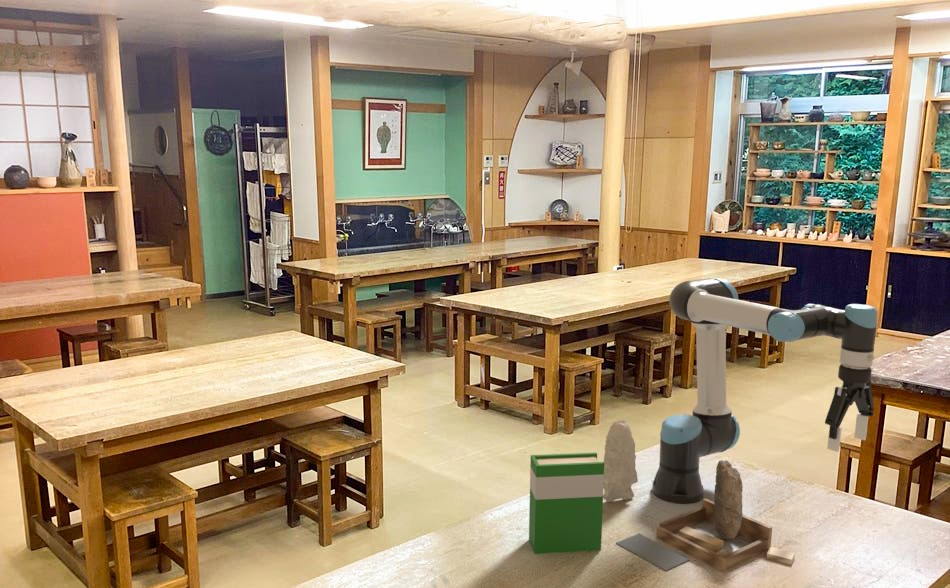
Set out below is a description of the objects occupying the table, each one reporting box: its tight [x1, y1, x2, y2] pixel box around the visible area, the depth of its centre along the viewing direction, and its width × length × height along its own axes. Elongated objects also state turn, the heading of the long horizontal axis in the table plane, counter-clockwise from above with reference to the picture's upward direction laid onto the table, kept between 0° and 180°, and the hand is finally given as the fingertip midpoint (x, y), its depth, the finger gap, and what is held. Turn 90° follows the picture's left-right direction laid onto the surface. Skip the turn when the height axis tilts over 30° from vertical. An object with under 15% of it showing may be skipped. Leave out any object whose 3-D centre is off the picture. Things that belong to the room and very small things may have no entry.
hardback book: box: [528, 452, 604, 555], centre depth 204 cm, size 18×7×24 cm, turn 97°
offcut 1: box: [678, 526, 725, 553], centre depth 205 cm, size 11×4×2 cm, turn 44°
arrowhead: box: [603, 419, 639, 503], centre depth 231 cm, size 4×12×25 cm, turn 105°
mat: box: [615, 533, 691, 572], centre depth 203 cm, size 17×9×1 cm, turn 36°
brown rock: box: [713, 459, 744, 540], centre depth 209 cm, size 14×5×20 cm, turn 1°
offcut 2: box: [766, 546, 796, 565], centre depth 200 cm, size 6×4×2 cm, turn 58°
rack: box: [656, 498, 773, 572], centre depth 208 cm, size 21×20×6 cm
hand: (846, 444), depth 203 cm, fingers open, 13 cm apart
